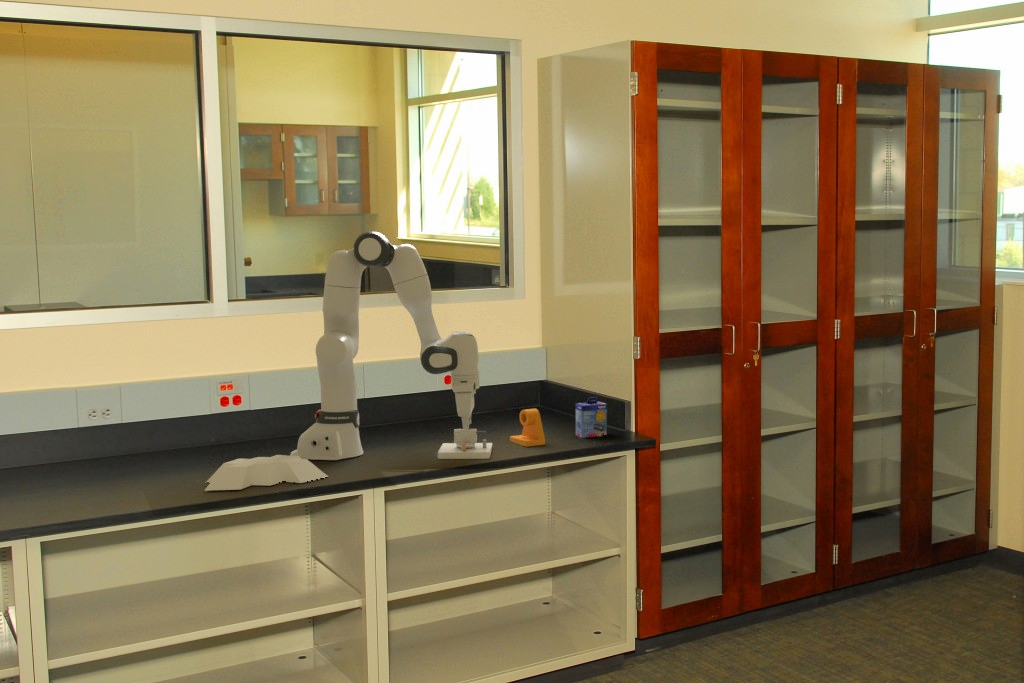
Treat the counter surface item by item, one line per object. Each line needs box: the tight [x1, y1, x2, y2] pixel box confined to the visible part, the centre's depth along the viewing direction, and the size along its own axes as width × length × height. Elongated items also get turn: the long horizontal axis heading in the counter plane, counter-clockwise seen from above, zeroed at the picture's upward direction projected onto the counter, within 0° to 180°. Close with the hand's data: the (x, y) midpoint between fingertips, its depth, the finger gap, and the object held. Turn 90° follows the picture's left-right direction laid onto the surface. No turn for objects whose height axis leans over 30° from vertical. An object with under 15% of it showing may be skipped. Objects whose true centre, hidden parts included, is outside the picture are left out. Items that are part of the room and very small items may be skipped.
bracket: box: [509, 408, 546, 447], centre depth 337 cm, size 11×7×12 cm, turn 32°
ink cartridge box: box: [575, 396, 608, 439], centre depth 348 cm, size 10×6×14 cm, turn 113°
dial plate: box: [437, 438, 493, 460], centre depth 324 cm, size 16×16×4 cm
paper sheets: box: [204, 454, 329, 492], centre depth 293 cm, size 35×20×6 cm, turn 115°
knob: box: [453, 428, 487, 448], centre depth 324 cm, size 10×6×6 cm, turn 88°
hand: (467, 426), depth 323 cm, fingers open, 8 cm apart
